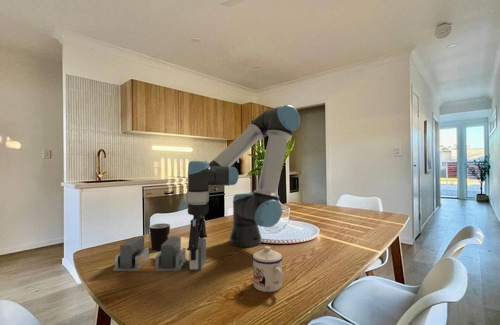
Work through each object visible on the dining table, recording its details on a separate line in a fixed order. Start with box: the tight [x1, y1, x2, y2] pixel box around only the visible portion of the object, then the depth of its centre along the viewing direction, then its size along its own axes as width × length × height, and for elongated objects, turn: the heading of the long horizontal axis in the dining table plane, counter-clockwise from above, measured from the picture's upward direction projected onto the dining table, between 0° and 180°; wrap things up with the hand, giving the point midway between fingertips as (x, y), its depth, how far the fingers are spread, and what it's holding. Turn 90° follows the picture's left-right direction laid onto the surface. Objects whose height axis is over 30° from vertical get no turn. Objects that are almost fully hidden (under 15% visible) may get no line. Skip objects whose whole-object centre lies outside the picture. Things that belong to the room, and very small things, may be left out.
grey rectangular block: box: [188, 238, 207, 272], centre depth 92 cm, size 4×10×8 cm, turn 0°
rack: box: [113, 236, 188, 273], centre depth 90 cm, size 23×10×9 cm, turn 90°
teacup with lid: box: [252, 245, 284, 293], centre depth 75 cm, size 12×9×12 cm
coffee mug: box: [149, 222, 171, 252], centre depth 110 cm, size 12×9×10 cm
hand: (197, 261), depth 91 cm, fingers open, 12 cm apart
